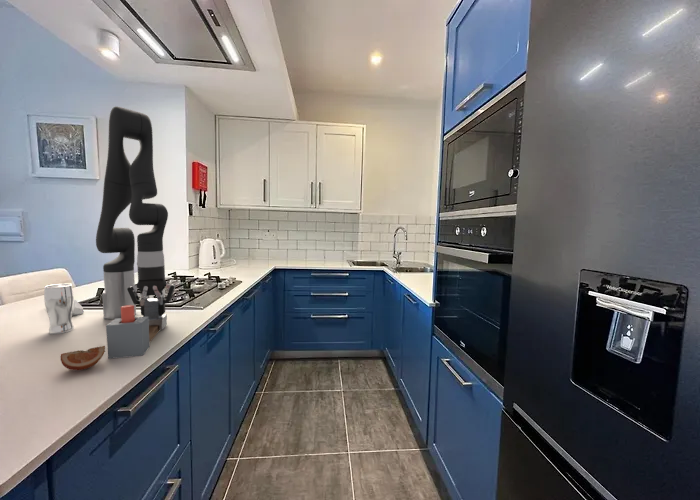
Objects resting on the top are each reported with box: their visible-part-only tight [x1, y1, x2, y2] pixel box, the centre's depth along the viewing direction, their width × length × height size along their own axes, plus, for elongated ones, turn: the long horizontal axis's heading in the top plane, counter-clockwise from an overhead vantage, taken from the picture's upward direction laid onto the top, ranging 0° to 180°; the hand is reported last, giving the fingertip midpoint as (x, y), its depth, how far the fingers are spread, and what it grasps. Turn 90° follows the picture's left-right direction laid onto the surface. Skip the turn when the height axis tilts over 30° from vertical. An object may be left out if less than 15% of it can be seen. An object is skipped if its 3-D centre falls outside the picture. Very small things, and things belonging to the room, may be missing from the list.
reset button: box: [121, 305, 136, 323], centre depth 86 cm, size 3×3×7 cm
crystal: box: [72, 298, 85, 317], centre depth 125 cm, size 7×7×24 cm
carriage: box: [144, 298, 168, 331], centre depth 105 cm, size 6×6×10 cm
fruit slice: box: [59, 345, 106, 371], centre depth 77 cm, size 8×7×5 cm
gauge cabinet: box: [105, 316, 151, 359], centre depth 87 cm, size 8×6×9 cm
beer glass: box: [43, 283, 75, 335], centre depth 102 cm, size 7×7×15 cm
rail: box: [149, 325, 161, 343], centre depth 100 cm, size 4×19×2 cm, turn 17°
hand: (153, 315), depth 105 cm, fingers closed on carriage, 4 cm apart
